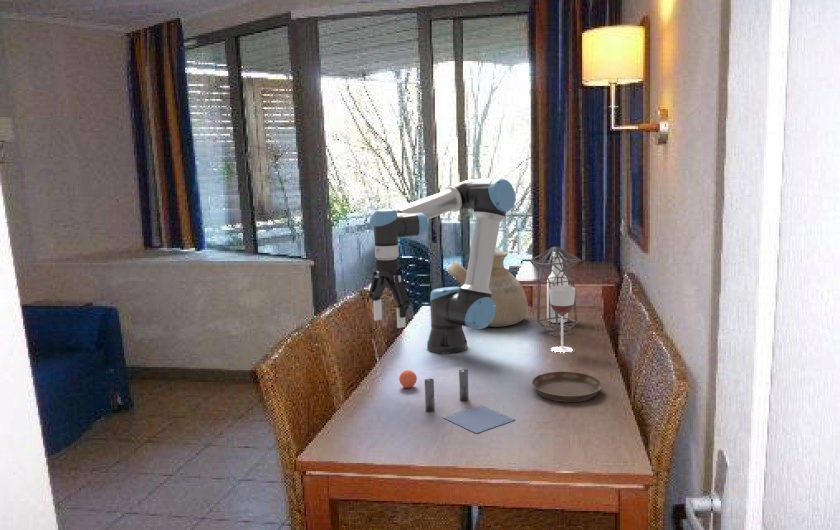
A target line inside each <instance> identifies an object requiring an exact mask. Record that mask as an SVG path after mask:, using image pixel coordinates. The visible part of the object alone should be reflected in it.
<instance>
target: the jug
mask: <svg viewBox="0 0 840 530" xmlns="http://www.w3.org/2000/svg"><path fill="white" fill-rule="evenodd" d="M507 256H508V252H506V251H503V250H501V251H499V250H495V254H494V259H493V265H492V271H491V276H490V282H489V290H490V291H491V292H492V295H491V299H492V300H493V301H494V303H495V304H494V305H495V306H496V312H495V316H494V318H493V320H492V322H491V323H490V324H488V326H487V327H490V328H492V327H493V328H499V327H500V328H501V327H507V326H513V325H515V324H518V323H520V322H522V321H523V320H525V318H526V316H527V315H528V310H529V304H528V300H527V295H526V293H525V290H524V288H523V286H522V284H521V283H520V281H519V280H518V279H517V278H516V277H515V276H514V274H513V273H512V272H510V271H508V269H506V268H505V264H504V260H505V259H506V257H507ZM447 272H448V273H449V275H451V276H452V277H453V278H454V279H455V280H456V281H457V282H459V284H460V285H461V286H463V285H464V284H465V280H466V275H467V269H466V267H464V266H463V265H462V264H460V263H459V262H458V261H457V260H455V261H453V262H452V263H451V265H450V266H449V267H448V269H447Z"/></svg>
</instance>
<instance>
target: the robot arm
mask: <svg viewBox="0 0 840 530" xmlns="http://www.w3.org/2000/svg"><path fill="white" fill-rule="evenodd" d="M515 204H516V191H515V188H514V187H513V185H512V183H511V182H510V181H508V179H504V178H499V177H490V178H489V177H487V178H481V177H480V178H479V177H474V178H469V179H466V180H463V181H460V182H457V183H455V184H453V185H449V186H447V187H445V189H444V190H443V191H440V192H438V193H435V194H433V195H430V196H427V197H423V198H421V199H418V200H415V201H413V202H410V203H407V204H405V205H404V204H403V205H401V206H399V207H395V208H392V209H391V208H390V209H389V208H386V209H385V208H383V209H376V210H375V211H374V212H373V214H372V215H371V216H370V220H369V225H370V228H371V230H372V231H373V235H374V240H373V241H374V257H375V258H376V259H375V261H374V263H375V264H374V265H375V266H374V267H375V270H374V271H373V272H372V279H371V285H370V288H369V292H368V298H371V300H372V304H373V305H372V308H373V320H374V321H379V320H382V319H383V309H382V308H383V307H382V294H384V293H383V292H384V290H385V288H387V289H388V290H389V291H391V294H392V296H393V298H394V300H395V302H396V305H397V306H396V326H397V327H396V328H397V329H401V328H406V326H407V325H406V323H407V322H406V309H407V308H406V307H408V306H410V305H411V303H410V300H409V295H408V293H407V289H406V287H405V283H404V276H403V274H400V275H398V274H397V272H398V271H399V269H400V259H399V256H400V253H399V252H400V250H399V239H401V238H402V239H403V238H409V237H410V238H412V237H419V236H423V235H425V234H426V233H427V232H428V229H429V220H430V219H433V218H435V217H438V216H441V215H443V214H446V213H448V212H453V213H456V212H460V211H465V210H472V211H473V212H472V214H473V216H475V218H476V220H475V225H474V230H473V236H472V242H471V248H470V253H469V257H468V259H469V260H468V265H467V269H466V270H467V275H466V280H465V284H464V285H463V286H462V285H461V286H447V287H445V286H444V287H440V288H439V287H438V288H434V289H433V290H431V292H430V295H429V296H430V299H429V302H430V303H429V304H430V305H429V306H430V325H431V326H430V327H431V328H430V332H429V336H428V340H427V342H426V343H427V344H426V347H427V348H426V349H427V350H428V351H429V352H432V353H436V354H437V353H438V354H456V353H461V352H464V351H465V350H467V349H468V341H467V340H468V339H467V338H466V334H465V332H464V328H463V327H465V328H466V327H467V328H469V329H476V330H482V329H485V328H486V327H489V326H488V324H490V323H491V322H492V320H493V318H494V316H495V312H496V306H495V305H494V304H495V303H494V301H493V300H492V299H491V295H492V292H491V291H490V290H489V282H490V276H491V271H492V265H493V259H494V254H495V251H496V248H497V242H498V237H499V231H500V224H501V222H502V221H504V220H505V219H506V215H507V212H510V211H511V210H512V209H513V208H514V206H515Z"/></svg>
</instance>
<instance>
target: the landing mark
mask: <svg viewBox="0 0 840 530" xmlns="http://www.w3.org/2000/svg"><path fill="white" fill-rule="evenodd" d="M443 419H445V420H446V421H448V422H451V423H452V424H455V425H457V426H458V427H461V428H463V429H466V430H467V431H469V432H471V433H473V434H475V435H477V434H479V433H483V432H485V431H489V430H492V429H494V428H496V427H497V428H498V427H500V426H503V425H505V424H509V423H511V422H514V421H516V419H515V418H513V417H510V416H508V415H506V414H503V413H501V412H499V411H496V410H494V409H491V408H489V407H487V406H484V405H483V404H482V405H481V404H480V405H477V406H475V407H471V408H469V409H465V410H462V411H460V412H455V413H452V414H449V415H446V416H443Z"/></svg>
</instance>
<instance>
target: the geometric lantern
mask: <svg viewBox="0 0 840 530" xmlns="http://www.w3.org/2000/svg"><path fill="white" fill-rule="evenodd" d="M554 252H555V255H556V256H557V257H553V253H554ZM561 254H562V255H561ZM543 255H544V256H543ZM558 255H559V256H560V257H559V256H558ZM541 256H543V257H542V258H541V259H538V258H539V257H541ZM549 256H550V257H549ZM548 257H549V260H547V259H548ZM557 258H558V260H559V263H553V262H555V260H556V259H557ZM559 258H561V259H562V263H561V262H560V259H559ZM553 259H554V260H553ZM582 261H583V259H581V258H579V257H578V256H575V254H572V253H570V252H568V251H566V250H565V249H562V248H561V247H560V246H552V247H551V248H549V249H547V250H545V251H544V252H542V253H541V254H539V255H537V256H535V257H533V258H532V259H531V260H530V264H532V266H533V267H534V268H535V270H537V271H538V277H537V300H536V301H537V306H536V307H537V308H536V309H537V311H536V323H537V324H539V325H540V326H541V327H543V330H544V334H547V335H551V336H554V337H561V334H559V332H561V330H558V329H561V323H560V324H558V318H561V317H558V313H556V312H555V317H553V318H550V295H549V318H548V319H547V318H543V319H540V318H541V317H540V315H541V311H540V310H541V290H542V289H541V288H542V287H541V286H542V283H543V282H544V283H546V284H547V283H549V288H550V284H553V286H555V284H554V283H553V282H554V281H555V279H556V278H557V282H555V283H557V286H558V283H561V286H563V283H562V282H568V283H569V282H570V285H571V286H572V287H574V288H575V278H573V273H572V269H573V268H574V266H575V265H577V264H578V263H579V262H582ZM555 264H560V266H561V268H562V264H563V265H565V266H566V268H565V269H564V267H563V268H562V271H561V270H560V269H559V268H558V267H557V266H555ZM571 264H572V265H571ZM536 265H537V266H536ZM552 265H553V266H554V267H556V268H557V269H558V270H559V271H560V272H563V275H562V277H558V275H559V274H558V275H556V274H555V273H554V274H555V275H556V277H551V278H555V279H554V281H553V282H550V280H549V279H550V278H548V277H549V276H548V275H547V273H546V271H545V269H546V268H549V269H551V272H552V271H553V270H552ZM567 271H568V274H569V276H570V277H567V276H566V277H567V278H566V277H563V276H564V275H566V272H567ZM540 272H541V274H540ZM553 272H554V271H553ZM560 272H559V273H560ZM543 274H544V276H545V278H542V277H543ZM558 278H561V282H558ZM562 278H566V279H567V280H568V281H562ZM547 279H548V281H549V282H547V281H546V280H547ZM575 289H576V288H575ZM577 312H578V311H577V301H576V299H575V300H574V305H573V314H574V319H572V318H569V317H568V318H565V316H563V320H564V319H567V321H572V322H571V323H563V330H564V331H563V332H566V331H567V333H563V336H567V335H571V334H572V328H574V327H575V326H576V325H577V324H578V315H577ZM555 318H556V324H552V323H551V320H550V319H555ZM548 320H549V322H548V324H546V323H545V321H548ZM543 321H544V323H543ZM551 324H552V325H551ZM564 327H565V328H564ZM568 330H569V331H568ZM551 331H552V332H554V334H553V333H550V332H551ZM556 332H557V333H556Z"/></svg>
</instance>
